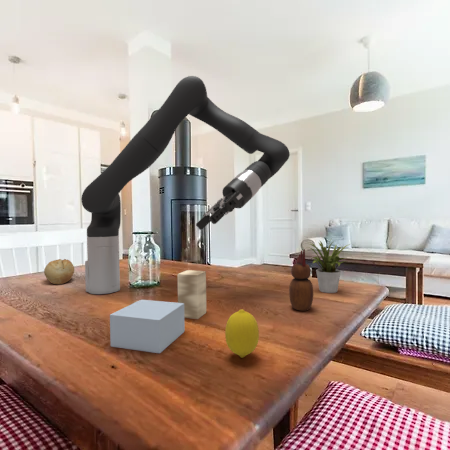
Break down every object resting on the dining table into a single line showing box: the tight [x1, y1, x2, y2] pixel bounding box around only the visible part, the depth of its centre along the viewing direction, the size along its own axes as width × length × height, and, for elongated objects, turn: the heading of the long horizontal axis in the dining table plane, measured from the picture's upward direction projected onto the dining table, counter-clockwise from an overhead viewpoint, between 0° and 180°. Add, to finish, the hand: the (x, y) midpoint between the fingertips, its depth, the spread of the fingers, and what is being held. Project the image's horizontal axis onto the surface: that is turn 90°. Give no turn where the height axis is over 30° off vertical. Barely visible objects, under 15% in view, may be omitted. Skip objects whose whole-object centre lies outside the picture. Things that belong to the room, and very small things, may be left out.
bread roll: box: [43, 258, 75, 286], centre depth 109 cm, size 10×15×8 cm, turn 35°
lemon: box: [224, 308, 260, 359], centre depth 50 cm, size 6×6×8 cm
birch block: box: [176, 269, 207, 320], centre depth 71 cm, size 5×5×10 cm
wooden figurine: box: [288, 248, 314, 312], centre depth 75 cm, size 7×6×15 cm
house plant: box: [305, 237, 351, 294], centre depth 92 cm, size 14×14×16 cm
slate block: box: [109, 299, 185, 354], centre depth 58 cm, size 10×10×6 cm
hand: (204, 224), depth 78 cm, fingers open, 8 cm apart
